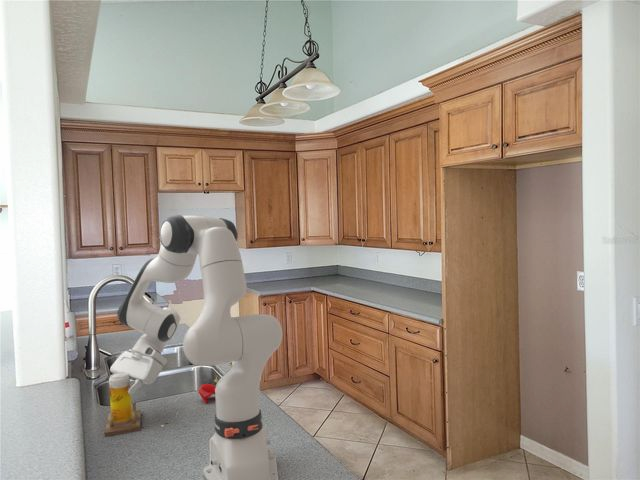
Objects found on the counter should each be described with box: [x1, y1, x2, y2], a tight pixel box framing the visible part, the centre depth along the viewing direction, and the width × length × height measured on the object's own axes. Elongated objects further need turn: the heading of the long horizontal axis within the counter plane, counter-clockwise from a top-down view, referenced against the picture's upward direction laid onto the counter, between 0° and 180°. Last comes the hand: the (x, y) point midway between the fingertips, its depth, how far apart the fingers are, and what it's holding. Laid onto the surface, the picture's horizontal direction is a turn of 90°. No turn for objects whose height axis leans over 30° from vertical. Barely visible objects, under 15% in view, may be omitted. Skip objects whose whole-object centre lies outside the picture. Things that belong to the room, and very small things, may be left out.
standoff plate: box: [104, 402, 142, 437], centre depth 151 cm, size 14×10×5 cm
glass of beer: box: [108, 372, 132, 424], centre depth 151 cm, size 6×6×15 cm
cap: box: [197, 383, 216, 404], centre depth 169 cm, size 8×6×6 cm
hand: (120, 391), depth 150 cm, fingers open, 8 cm apart
